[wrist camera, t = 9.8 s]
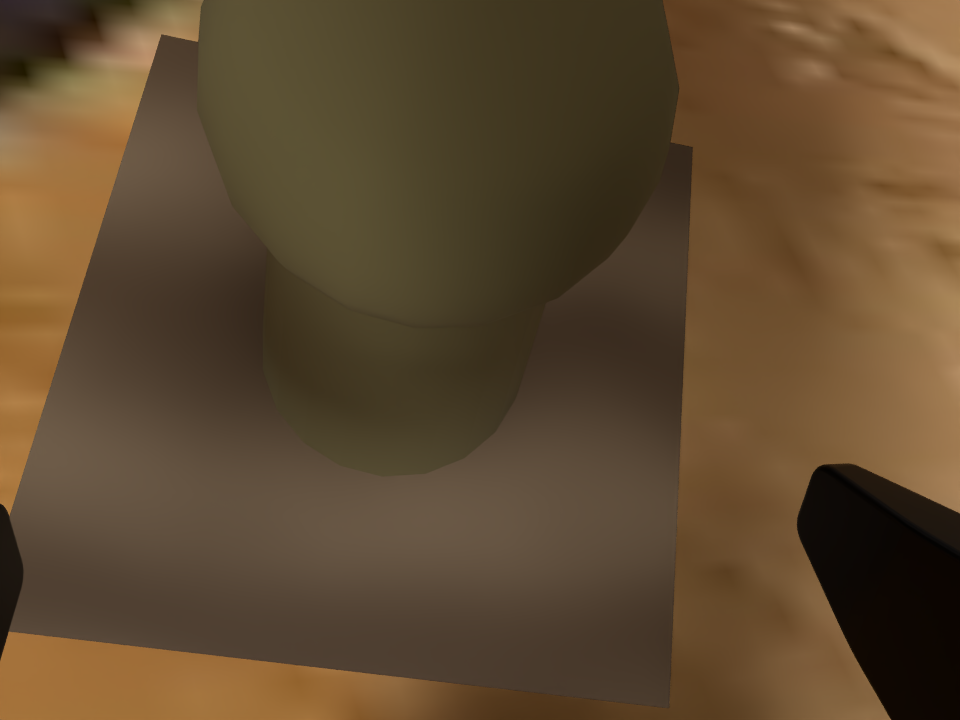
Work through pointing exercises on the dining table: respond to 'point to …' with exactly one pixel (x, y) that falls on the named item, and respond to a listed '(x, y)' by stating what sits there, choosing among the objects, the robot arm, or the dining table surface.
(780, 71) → the dining table surface
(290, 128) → the cork
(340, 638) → the walnut plinth
